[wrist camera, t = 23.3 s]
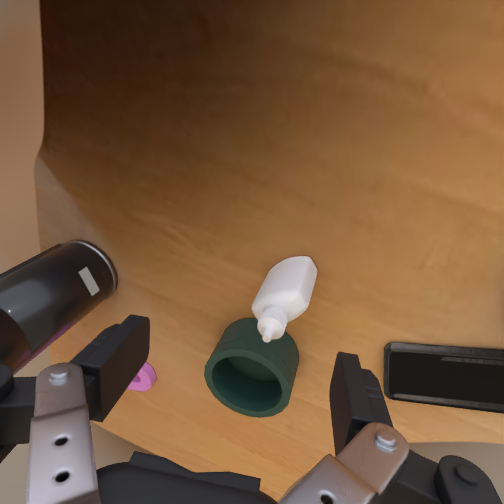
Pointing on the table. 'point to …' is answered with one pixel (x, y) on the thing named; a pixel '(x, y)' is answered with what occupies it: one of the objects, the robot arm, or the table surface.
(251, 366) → the green short hollow cylinder
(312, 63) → the table surface
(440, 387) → the phone
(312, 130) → the table surface
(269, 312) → the eye dropper bottle
